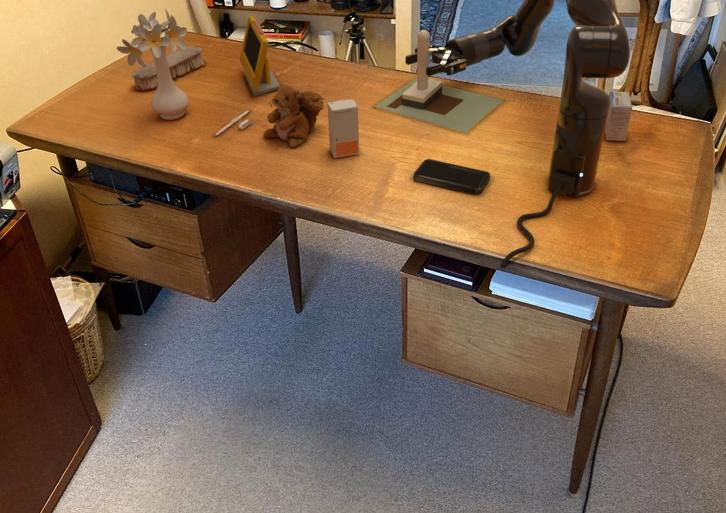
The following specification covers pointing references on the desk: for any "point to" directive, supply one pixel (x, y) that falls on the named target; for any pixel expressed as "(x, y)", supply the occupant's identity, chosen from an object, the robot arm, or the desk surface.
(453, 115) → the desk mat
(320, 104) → the stuffed squirrel
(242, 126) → the pen with cap
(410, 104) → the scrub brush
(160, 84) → the flower vase
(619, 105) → the medicine box
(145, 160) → the desk surface
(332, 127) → the cosmetic box
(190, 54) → the shoe brush
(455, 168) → the phone
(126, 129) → the desk surface
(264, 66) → the yellow framed monitor
